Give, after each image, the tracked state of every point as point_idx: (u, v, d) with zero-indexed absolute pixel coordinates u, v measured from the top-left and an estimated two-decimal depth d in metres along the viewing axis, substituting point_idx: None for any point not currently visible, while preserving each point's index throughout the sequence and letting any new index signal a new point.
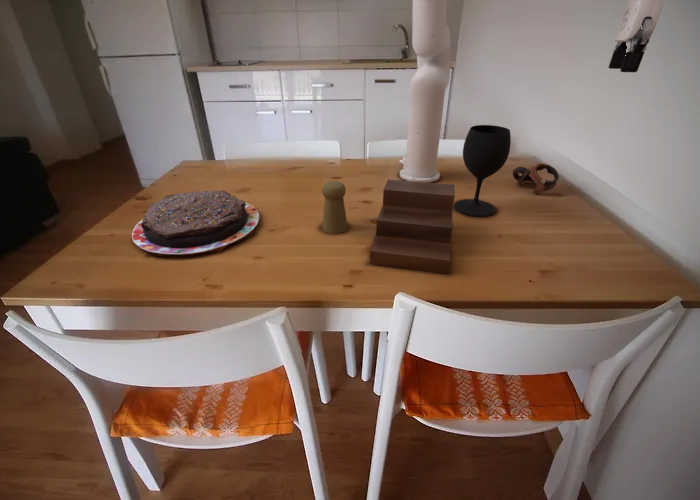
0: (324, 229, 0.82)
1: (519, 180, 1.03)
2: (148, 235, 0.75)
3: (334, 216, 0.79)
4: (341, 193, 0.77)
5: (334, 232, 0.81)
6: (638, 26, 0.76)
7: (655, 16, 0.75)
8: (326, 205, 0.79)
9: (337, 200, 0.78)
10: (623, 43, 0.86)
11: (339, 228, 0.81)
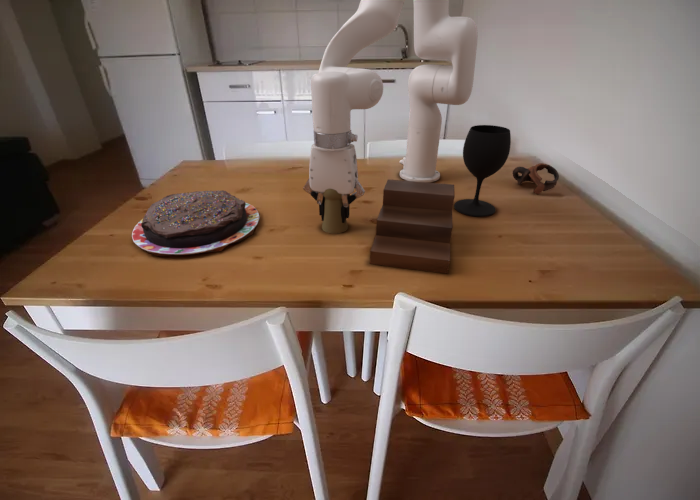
0: (324, 229, 0.82)
1: (519, 180, 1.03)
2: (148, 235, 0.75)
3: (334, 216, 0.79)
4: None
5: (334, 232, 0.81)
6: None
7: None
8: (326, 205, 0.79)
9: (337, 200, 0.78)
10: None
11: (339, 228, 0.81)
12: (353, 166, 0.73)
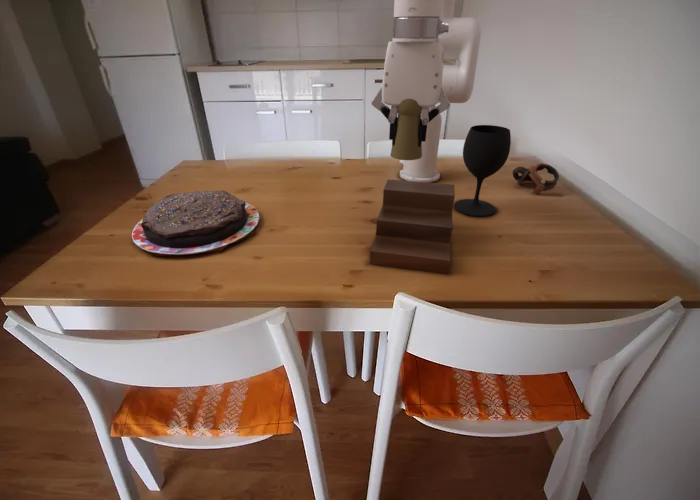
0: (395, 156, 0.67)
1: (519, 180, 1.03)
2: (148, 235, 0.75)
3: (410, 137, 0.64)
4: None
5: (408, 158, 0.66)
6: None
7: (383, 75, 0.61)
8: (400, 123, 0.64)
9: (415, 115, 0.63)
10: None
11: (415, 153, 0.66)
12: (441, 66, 0.58)
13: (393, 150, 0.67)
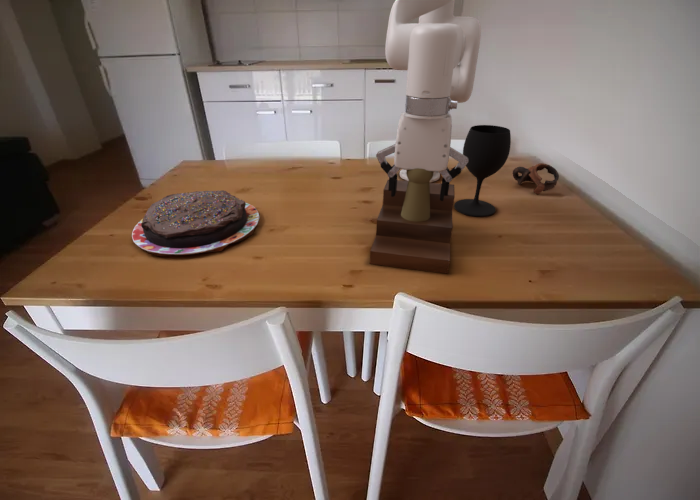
0: (405, 217, 0.72)
1: (519, 180, 1.03)
2: (148, 235, 0.75)
3: (420, 202, 0.70)
4: (430, 175, 0.68)
5: (417, 220, 0.71)
6: None
7: None
8: (411, 189, 0.69)
9: (425, 183, 0.68)
10: (449, 172, 0.68)
11: (424, 215, 0.71)
12: (450, 138, 0.64)
13: (404, 211, 0.72)
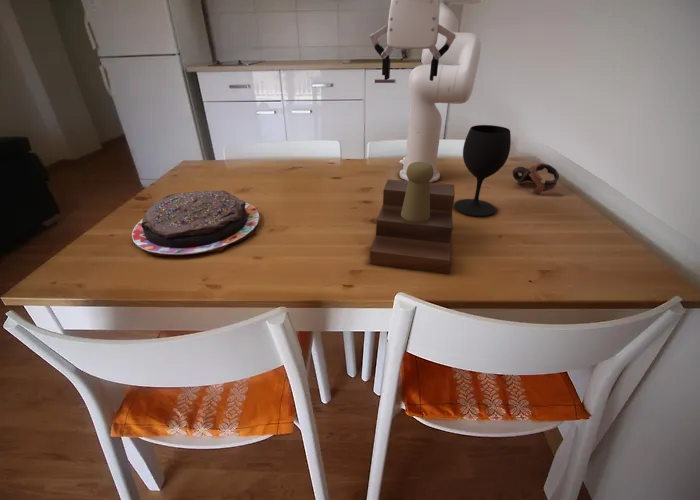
0: (405, 217, 0.72)
1: (519, 180, 1.03)
2: (148, 235, 0.75)
3: (420, 202, 0.70)
4: (430, 175, 0.68)
5: (418, 220, 0.71)
6: None
7: (388, 21, 0.72)
8: (411, 189, 0.69)
9: (425, 183, 0.68)
10: (437, 51, 0.73)
11: (424, 215, 0.71)
12: (438, 12, 0.69)
13: (404, 211, 0.72)
